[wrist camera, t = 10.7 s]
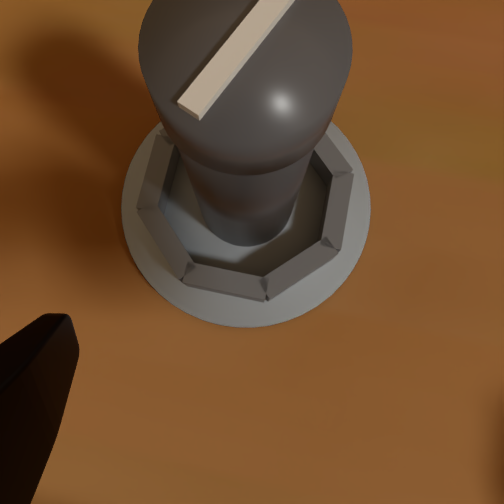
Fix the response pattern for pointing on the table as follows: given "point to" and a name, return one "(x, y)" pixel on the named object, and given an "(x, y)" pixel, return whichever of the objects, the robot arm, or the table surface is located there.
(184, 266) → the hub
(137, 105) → the table surface
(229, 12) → the knob
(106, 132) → the table surface
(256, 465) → the table surface
